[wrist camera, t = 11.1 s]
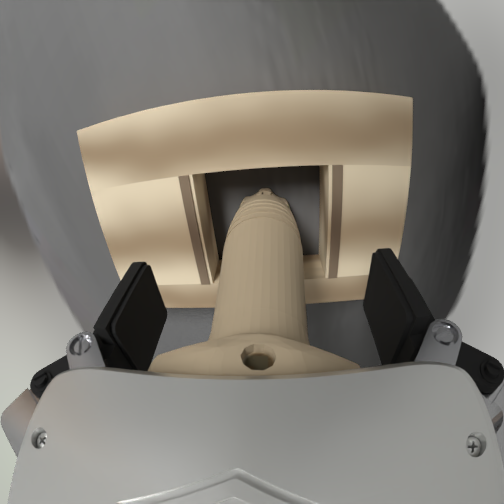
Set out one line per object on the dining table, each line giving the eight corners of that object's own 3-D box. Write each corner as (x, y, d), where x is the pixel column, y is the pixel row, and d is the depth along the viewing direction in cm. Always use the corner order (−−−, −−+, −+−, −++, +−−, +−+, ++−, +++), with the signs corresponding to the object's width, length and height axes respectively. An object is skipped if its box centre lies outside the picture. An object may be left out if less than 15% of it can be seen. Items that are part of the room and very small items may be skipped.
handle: (307, 241, 20) (343, 450, 8) (219, 237, 21) (162, 441, 8) (314, 177, 18) (401, 381, 5) (217, 173, 18) (112, 368, 5)
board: (100, 124, 16) (75, 131, 14) (391, 96, 14) (413, 97, 12) (144, 284, 23) (131, 308, 21) (377, 273, 22) (389, 297, 19)
